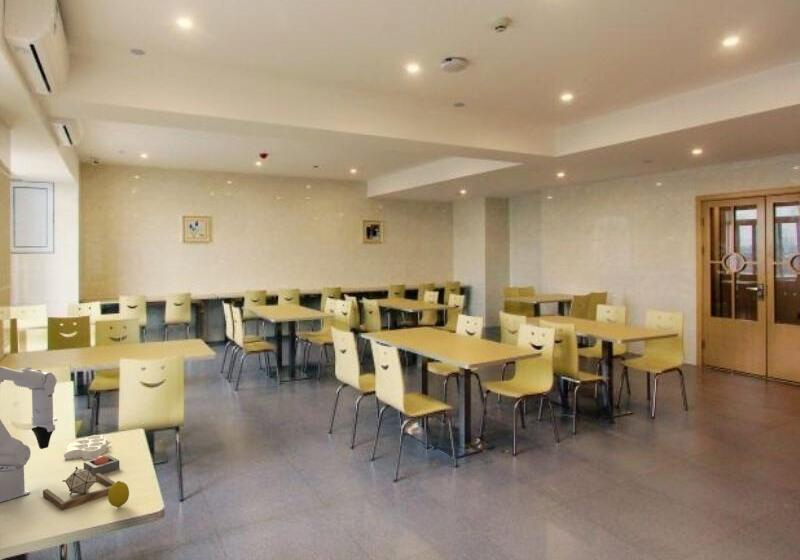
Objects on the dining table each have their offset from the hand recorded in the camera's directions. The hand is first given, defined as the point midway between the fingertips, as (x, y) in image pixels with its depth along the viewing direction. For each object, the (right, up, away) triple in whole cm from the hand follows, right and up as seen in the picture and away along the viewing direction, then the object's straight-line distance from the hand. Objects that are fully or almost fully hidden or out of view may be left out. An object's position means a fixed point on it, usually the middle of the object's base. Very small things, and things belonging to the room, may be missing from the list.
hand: (43, 447), depth 179 cm
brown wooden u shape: (+20, -10, -12) cm, 26 cm away
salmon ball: (+16, -9, +6) cm, 19 cm away
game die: (+20, -11, -12) cm, 26 cm away
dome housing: (+16, -9, +6) cm, 20 cm away
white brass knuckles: (+2, -9, +22) cm, 24 cm away
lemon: (+36, -11, -21) cm, 43 cm away
